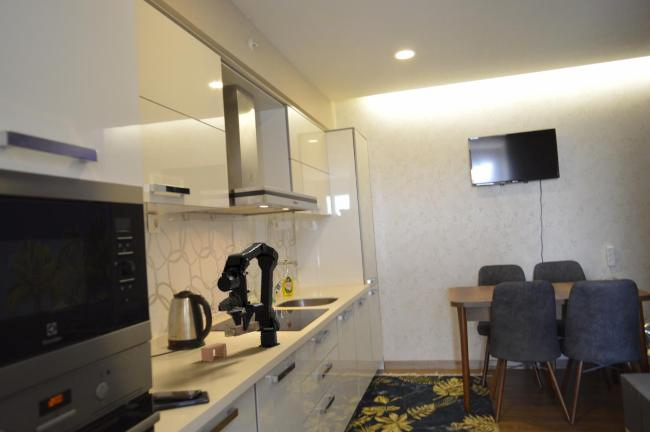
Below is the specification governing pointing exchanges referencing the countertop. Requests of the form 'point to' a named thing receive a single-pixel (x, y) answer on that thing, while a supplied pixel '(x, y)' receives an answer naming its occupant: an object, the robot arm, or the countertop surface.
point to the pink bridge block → (208, 351)
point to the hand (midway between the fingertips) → (242, 330)
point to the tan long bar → (241, 329)
